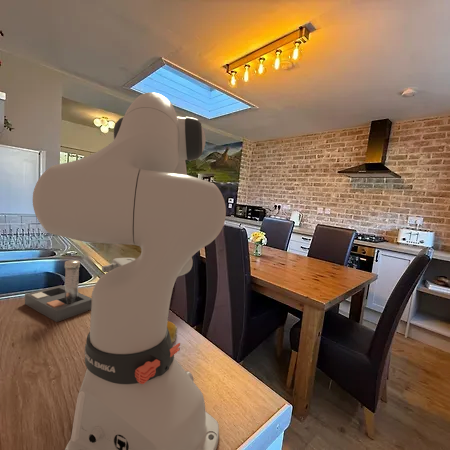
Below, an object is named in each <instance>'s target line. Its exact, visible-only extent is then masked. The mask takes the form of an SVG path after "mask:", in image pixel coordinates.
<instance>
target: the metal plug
mask: <svg viewBox="0 0 450 450" xmlns="http://www.w3.org/2000/svg"><path fill="white" fill-rule="evenodd" d="M80 267H81V261H80V260H79V259H69V260H66V261H64V269H65V273H64V274H65V276H64V278H65V279H64V286H65V304H67V305H68V304H71V303H74V302H77V301H78V293H79V276H80V272H79V271H80Z"/></svg>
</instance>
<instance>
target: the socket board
mask: <svg viewBox="0 0 450 450" xmlns="http://www.w3.org/2000/svg"><path fill="white" fill-rule="evenodd" d="M91 302H92V297H89V296H87V295H85V294H82V293H81V292H78V301H77V302H74V303H71V304H68V305H67V304H65V285H62V284H60V285H56V286H52V287H48V288H44V289H41V290H35V291H32V292H28V293H24V305H26V306H28V307H29V308H31V309H33V310H35V311H36V312H38V313H40V314H42V315H43V316H45V317H46V318H48V319H50V320H52V321H53V322H55V323H58V322H61V321H63V320H67V319H69V318H71V317H74V316H77V315H80V314H83V313H85V312H89V311H91ZM88 310H89V311H88Z"/></svg>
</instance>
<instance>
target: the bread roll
mask: <svg viewBox="0 0 450 450" xmlns="http://www.w3.org/2000/svg"><path fill="white" fill-rule="evenodd" d="M167 328H168V330H169V334H170V338H171V342H172V344H173V343H174V342H176V340H177V335H178V327H177V326H176V324H175V323H173V322H172V321H169V320H168V322H167Z"/></svg>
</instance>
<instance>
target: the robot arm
mask: <svg viewBox="0 0 450 450" xmlns="http://www.w3.org/2000/svg"><path fill="white" fill-rule="evenodd" d="M177 115H178V114H177V112H176V110H175V106H174V105H173V103H172V102H171V101H170V100H169V99H168V98H167V97H165V96H164V95H162V94H160V93H157V92H144V93H142V94H140V95H139V96H137V97H135V99H134V100H132V102H131V104H130V105H128V108H127V110H126V111H125V114H124V116H122V117H120V118H119V119H118V120H117V121H116V123H115V124H114V126H113V140H112V141H111V143H109V144H108V145H106V146H104V147H103V148H101V149H100V150H98V151H96V152H94V153H92V154H89V155H88V156H85V157H83V158H79V159H75V160H73V161H72V160H71V161H68V162H63V163H59V164H58V163H57V164H53V165H51V166H50V167H48V168H47V169H46V170H45V171H44V172H43V173H42V174H41V175H40V177H39V178H38V180H37V182H36V183H35V187H34V189H33V193H32V207H33V211H34V214H35V216H36V218H37V221H38V222H39V224H40V225H41V226H42V228H43V229H44V230H45V231H46V232H47V233H49V234H51V235H55V236H60V237H62V238H67V239H69V240H74V241H75V240H76V241H80V242H84V243H95V244H96V243H97V244H111V245H112V244H115V245H117V244H118V245H131V246H132V245H133V246H137V247H139V248H140V249H141V253H140V254H139V256H138V257H137V258H135V257H116V258H113V259H112V262H111V263H110V264H108V265H101V271H102V272H103V273H105V274H103V275H102V276H101V277H100V278H98V280H97V282H95V285H94V287H93V289H92V292H91V298H92V302H91V310H90V324H89V326H90V328H89V332H88V334H87V337H86V340H85V341H86V342H85V345H84V355H85V356H84V364H85V367H86V371H85V373H84V377H83V379H82V382H81V386H80V388H79V391H78V394H77V398H76V404H75V411H74V417H73V424H72V430H71V436H70V440H69V441H68V443H67V444H66V447H65V449H64V450H217V449H218V448H217V447H218V445H219V437H220V431H219V430H220V429H219V428H220V425H219V422H218V421H217V420H216V419H215V418H214V417H213V416H212V415H211V414H209V412H207V411H206V402H205V398H204V395H203V394H204V393H203V392H202V390H201V389H200V388H199V387H198V385H196V383H195V382H194V376H193V374H192V372H190V371H188V370H185V369H184V367H183V365H181V364H180V363H179V361H178V360H177V358H176V357H175V354H177V353H178V352H179V351H180V348H179V347H180V345H181V343H180V342H179V343H177V344H175V345H173V343H172V342H171V338H170V334H169V330H168V328H167V322H168V321H169V320H168V319H169V312H170V305H171V301H172V300H171V298H172V294H173V290H174V289H173V288H174V287H175V283H176V281H177V278H178V277H181V276H183V275H187V274H188V273H189V272H190V271H191V270H192V267H193V263H194V262H193V261H194V260H193V256H195V255H196V253H197V254H198V252H199V251H200V250H202V249H203V248H205V247H207V246H209V245H210V244H212V242H214V240H215V239H217V237H218V236H219V235H220V233H221V231H222V230H223V228H224V225H225V221H226V217H227V207H226V201H225V198H224V196H223V194H222V192H221V190H220V189H219V187H218V186H217V185H216V184H215V183H214V182H211V181H207V180H206V179H205V180H204V179H202V178H200V177H199V178H198V177H196V176H192V175H189V174H188V173H187V164H186V161H188V162H192V161H195V160H197V159H199V158H200V157H201V156H202V155H203V152H204V150H205V147H206V142H207V139H206V133H205V130H204V127H203V125H202V122H201V121H200V120H199V119H198V118H195V117H192V116H185V117H182V116H177Z"/></svg>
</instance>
